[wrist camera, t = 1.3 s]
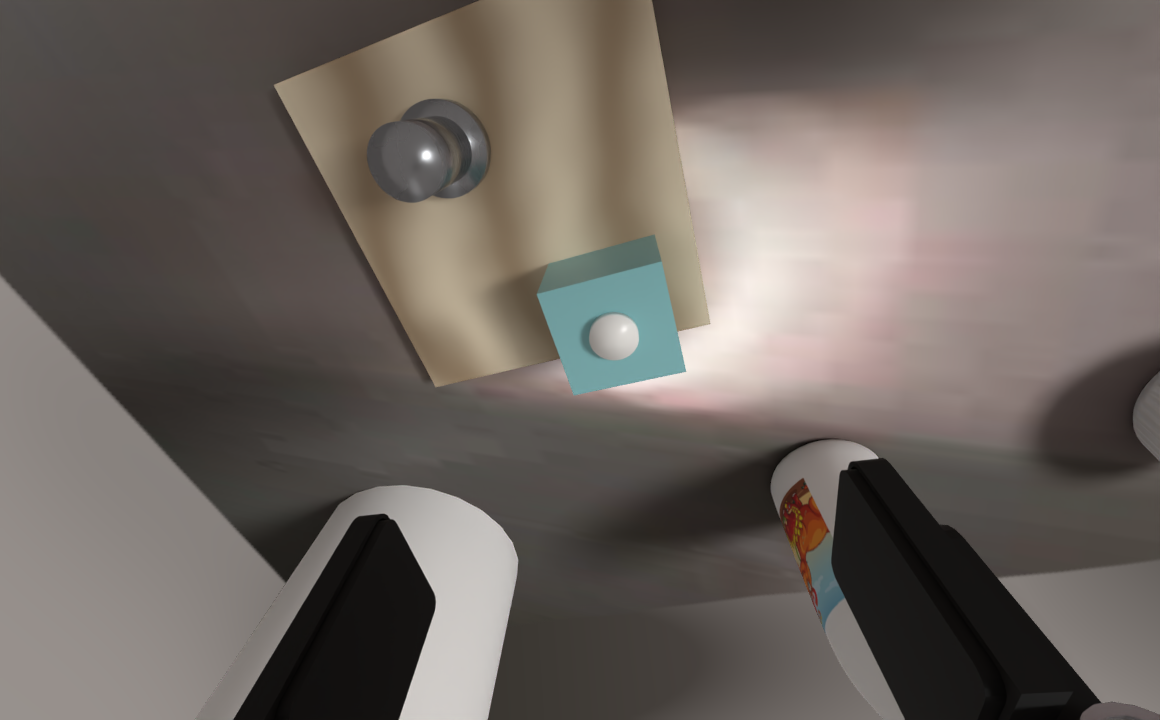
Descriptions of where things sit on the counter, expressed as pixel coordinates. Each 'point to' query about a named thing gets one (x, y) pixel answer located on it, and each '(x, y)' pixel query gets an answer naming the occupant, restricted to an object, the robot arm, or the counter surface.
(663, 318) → the teal knob cube
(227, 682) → the white stepped round block
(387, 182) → the stud
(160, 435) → the counter surface
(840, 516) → the robot arm
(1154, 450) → the ramekin
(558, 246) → the board
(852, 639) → the milk bottle
